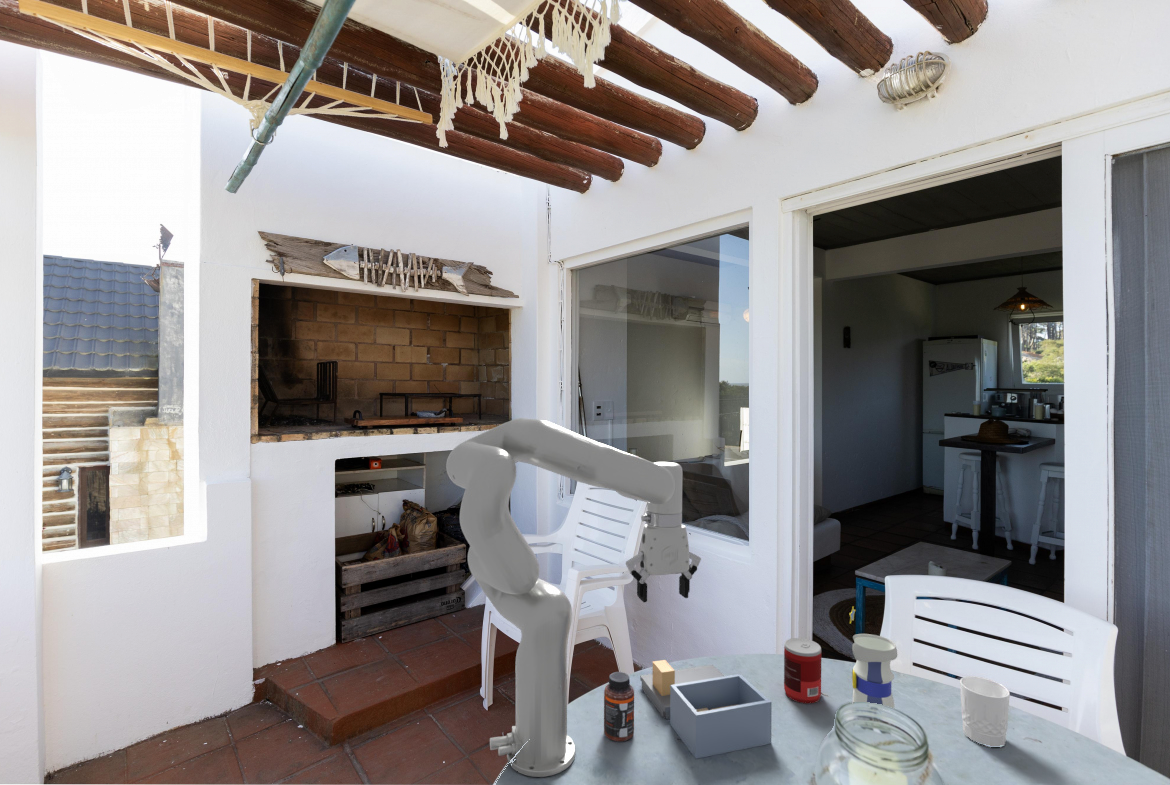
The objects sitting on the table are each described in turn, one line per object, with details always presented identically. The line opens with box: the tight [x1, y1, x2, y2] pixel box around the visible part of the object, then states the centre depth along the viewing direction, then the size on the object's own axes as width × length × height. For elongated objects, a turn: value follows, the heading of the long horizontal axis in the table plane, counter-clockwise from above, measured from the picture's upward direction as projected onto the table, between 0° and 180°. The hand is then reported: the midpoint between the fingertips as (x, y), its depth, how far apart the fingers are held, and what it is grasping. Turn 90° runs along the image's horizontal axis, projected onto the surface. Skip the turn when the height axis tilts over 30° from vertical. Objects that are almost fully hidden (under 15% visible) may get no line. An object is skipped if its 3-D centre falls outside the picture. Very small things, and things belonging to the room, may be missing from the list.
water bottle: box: [849, 606, 898, 709], centre depth 108 cm, size 8×9×25 cm
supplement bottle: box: [603, 671, 635, 742], centre depth 111 cm, size 6×6×11 cm
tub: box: [669, 673, 773, 760], centre depth 111 cm, size 16×11×8 cm
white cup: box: [959, 675, 1011, 746], centre depth 110 cm, size 8×8×10 cm
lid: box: [639, 659, 725, 720], centre depth 124 cm, size 18×13×8 cm
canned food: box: [783, 637, 822, 704], centre depth 125 cm, size 8×8×11 cm
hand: (663, 598), depth 122 cm, fingers open, 9 cm apart
